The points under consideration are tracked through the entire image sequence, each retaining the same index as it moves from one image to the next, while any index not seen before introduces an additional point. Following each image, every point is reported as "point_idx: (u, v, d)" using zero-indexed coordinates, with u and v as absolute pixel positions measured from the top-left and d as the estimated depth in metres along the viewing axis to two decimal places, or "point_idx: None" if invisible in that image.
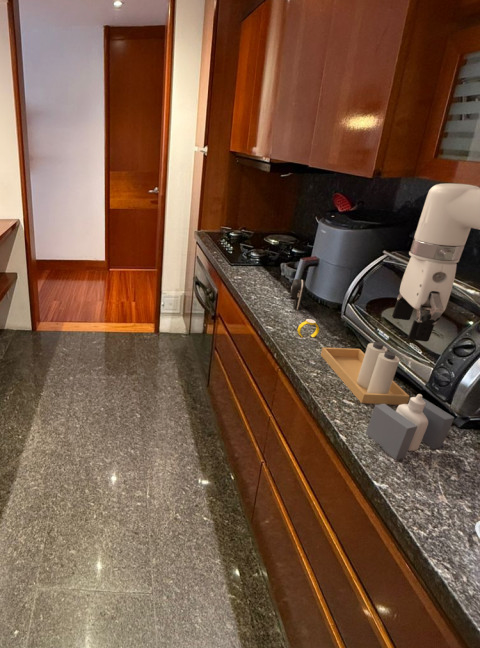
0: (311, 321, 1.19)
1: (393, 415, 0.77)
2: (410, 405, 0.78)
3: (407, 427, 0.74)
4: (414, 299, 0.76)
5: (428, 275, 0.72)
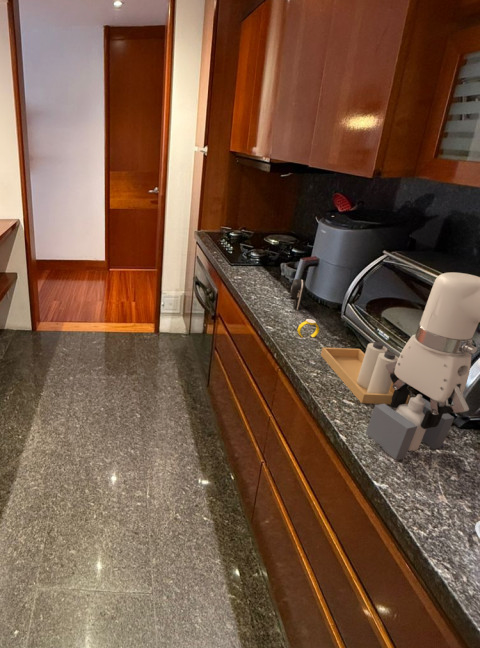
0: (311, 321, 1.19)
1: (393, 415, 0.77)
2: (410, 405, 0.78)
3: (407, 427, 0.74)
4: (435, 392, 0.72)
5: (454, 370, 0.69)
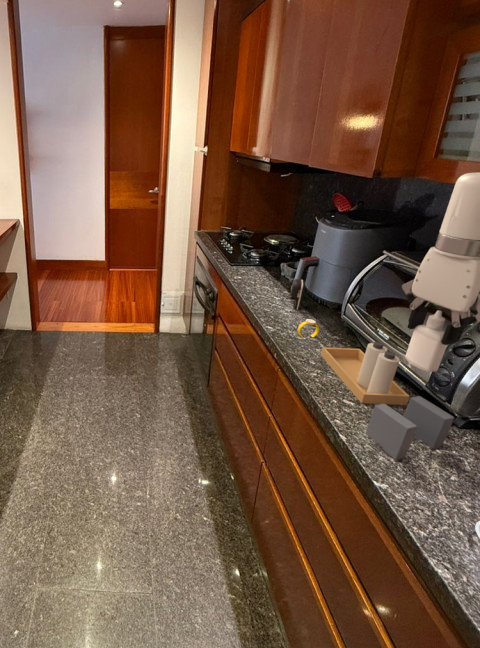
0: (311, 321, 1.19)
1: (393, 415, 0.77)
2: (429, 323, 0.74)
3: (407, 427, 0.74)
4: (457, 302, 0.68)
5: (478, 275, 0.65)
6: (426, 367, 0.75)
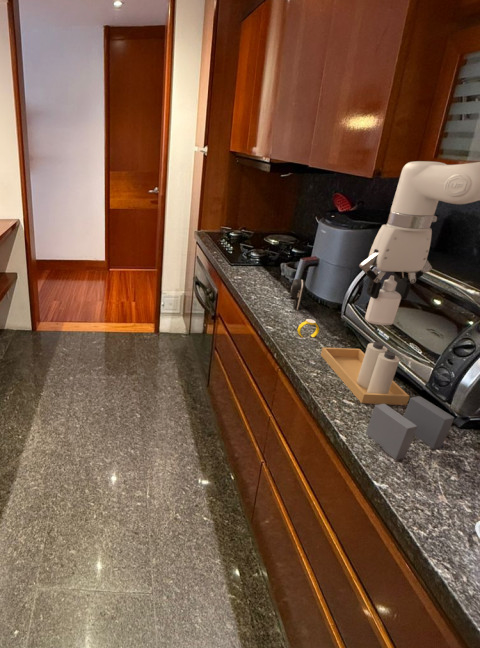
0: (311, 321, 1.19)
1: (393, 415, 0.77)
2: (390, 287, 0.89)
3: (407, 427, 0.74)
4: (419, 264, 0.86)
5: None
6: (392, 321, 0.92)
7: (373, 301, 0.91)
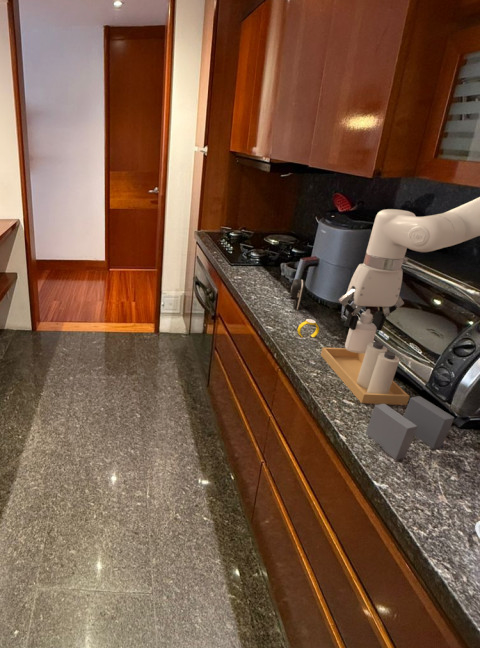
0: (311, 321, 1.19)
1: (393, 415, 0.77)
2: (366, 320, 0.98)
3: (407, 427, 0.74)
4: (391, 300, 0.95)
5: None
6: None
7: (351, 332, 1.00)
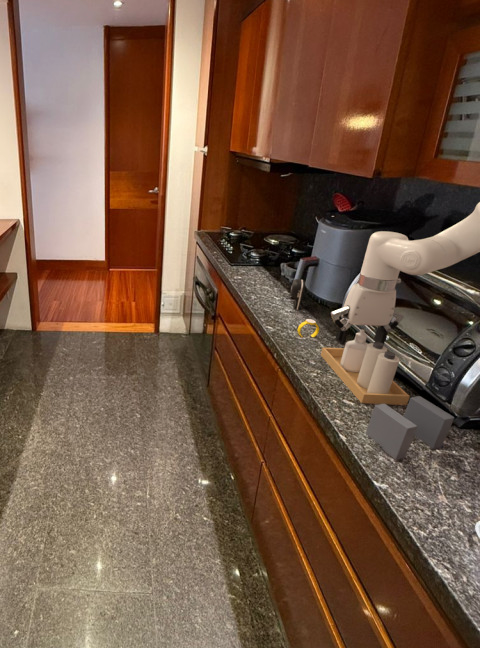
0: (311, 321, 1.19)
1: (393, 415, 0.77)
2: (361, 340, 1.00)
3: (407, 427, 0.74)
4: (385, 320, 0.97)
5: None
6: None
7: (346, 351, 1.03)
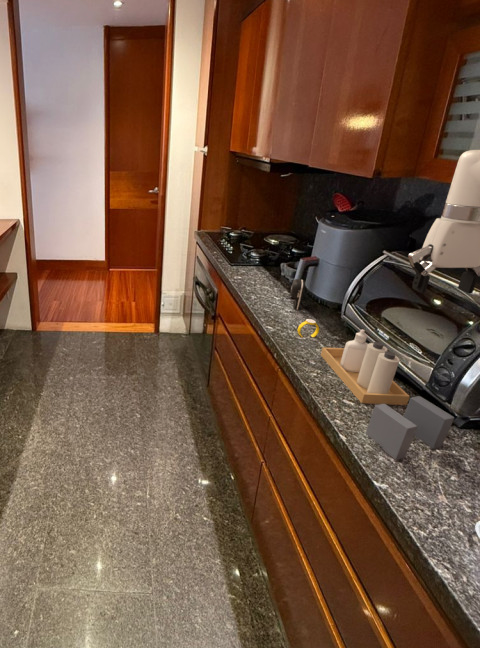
0: (311, 321, 1.19)
1: (393, 415, 0.77)
2: (361, 340, 1.00)
3: (407, 427, 0.74)
4: (478, 260, 0.80)
5: None
6: None
7: (346, 351, 1.03)
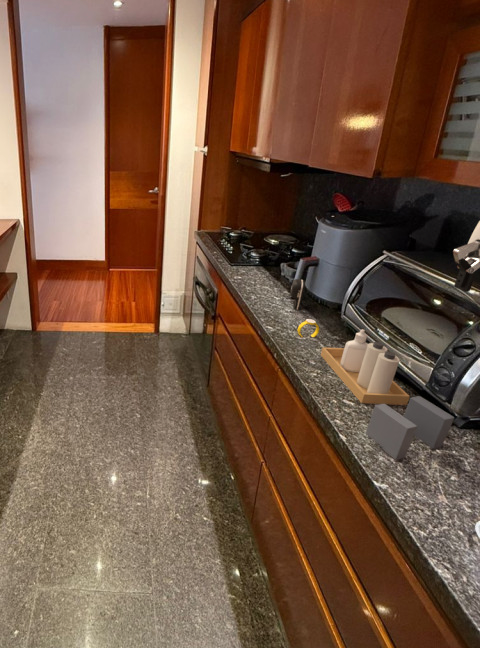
0: (311, 321, 1.19)
1: (393, 415, 0.77)
2: (361, 340, 1.00)
3: (407, 427, 0.74)
4: None
5: None
6: None
7: (346, 351, 1.03)
